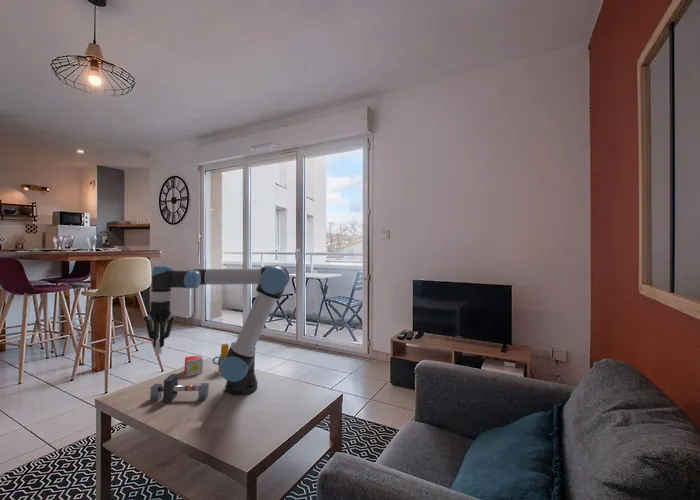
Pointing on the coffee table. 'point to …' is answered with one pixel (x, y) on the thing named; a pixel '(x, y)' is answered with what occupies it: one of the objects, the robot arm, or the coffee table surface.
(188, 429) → the coffee table surface
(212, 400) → the coffee table surface
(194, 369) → the red gray cube
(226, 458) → the coffee table surface
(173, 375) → the dark gray notched block
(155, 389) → the rail
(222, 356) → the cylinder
